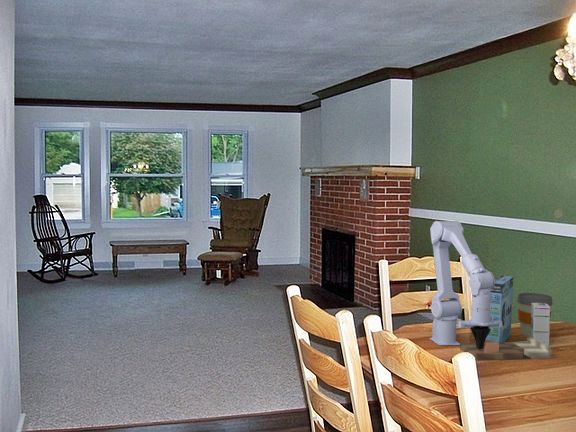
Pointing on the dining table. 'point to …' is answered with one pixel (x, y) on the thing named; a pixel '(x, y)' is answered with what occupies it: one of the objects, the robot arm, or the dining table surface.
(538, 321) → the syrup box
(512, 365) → the dining table surface
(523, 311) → the reusable coffee cup
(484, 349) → the block
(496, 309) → the gum box
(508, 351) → the board
